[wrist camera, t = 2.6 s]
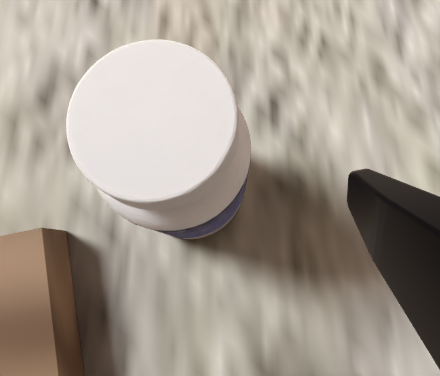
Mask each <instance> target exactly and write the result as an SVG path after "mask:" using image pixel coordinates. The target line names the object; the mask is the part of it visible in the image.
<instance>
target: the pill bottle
mask: <svg viewBox="0 0 440 376" xmlns="http://www.w3.org/2000/svg"><path fill="white" fill-rule="evenodd" d="M66 129H67V139H68V144H69V148H70V151H71V154H72V156H73V159H74V161H75V163H76V164H77V166H78V168H79V169H80V171H81V172H82V173H83V175H84V176H85V177H86V178H87V179H88V180H89V181H90V182H91V183H92V184H93V185H94V186H95V187H96V189H97V191H98V192H99V194H100V195H101V197H102V198H103V200H104V201H105V202H106V203H107V204H108V206H110V207H111V208H112V209H113V210H114V211H115V212H116V213H117V214H119V215H120V216H122V217H123V218H125V219H126V220H128V221H130V222H132V223H134V224H136V225H139V226H142V227H145V228H148V229H152V230H155V231H159V232H162V233H164V234H167V235H170V236H173V237H177V238H181V239H198V238H203V237H206V236H209V235H212V234H214V233H216V232H218V231H219V230H221V229H222V228H224V227H225V226H226V225H227V224H228V223H229V222H230V221H231V220H232V219H233V217H234V216H235V215H236V213H237V211H238V210H239V208H240V206H241V203H242V200H243V197H244V192H245V187H246V181H247V176H248V171H249V167H250V159H251V141H250V135H249V130H248V127H247V124H246V121H245V119H244V117H243V115H242V113H241V111H240V109H239V108H238V106H237V101H236V97H235V94H234V91H233V89H232V86H231V84H230V82H229V80H228V79H227V77H226V75H225V74H224V73H223V71H222V70H221V69H220V68H219V66H218V65H217V64H216V63H214V62H213V61H212V60H211V59H210V58H209V57H208V56H206V55H205V54H203V53H202V52H200V51H199V50H197V49H195V48H193V47H191V46H188V45H186V44H182V43H179V42H175V41H169V40H157V39H156V40H144V41H139V42H134V43H131V44H127V45H124V46H121V47H119V48H117V49H116V50H113V51H111V52H110V53H108V54H107V55H105V56H104V57H102V58H101V59H100V60H98V61H97V62H96V63H95V64H94V65H93V66H92V67H90V68H89V70H88V71H87V72H86V73H85V74H84V76H83V77H82V79H81V80H80V81H79V83H78V85H77V86H76V88H75V90H74V93H73V95H72V98H71V100H70V103H69V107H68V112H67V120H66Z"/></svg>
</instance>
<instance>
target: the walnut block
mask: <svg viewBox="0 0 440 376" xmlns="http://www.w3.org/2000/svg"><path fill="white" fill-rule="evenodd" d="M0 376H84V369H83V361H82V353H81V345H80V337H79V329H78V321H77V313H76V305H75V297H74V290H73V282H72V274H71V266H70V258H69V250H68V242H67V234H66V231H63V230H55V229H47V228H38V229H33V230H29V231H24V232H19V233H14V234H9V235H5V236H0Z"/></svg>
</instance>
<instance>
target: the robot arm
mask: <svg viewBox="0 0 440 376" xmlns="http://www.w3.org/2000/svg"><path fill="white" fill-rule="evenodd" d="M347 203H348V207H349V210H350V212H351V214H352V216H353V218H354V221H355V223H356V225H357V227H358V229H359V231H360V234H361V236H362V238H363V240H364V242H365V244H366V247H367V249H368V251H369V253H370V255H371V257H372V259H373V261H374V263H375V264H376V266H377V268H378V270H379V271H380V273H381V274H382V276H383V278H384V279H385V281H386V283H387V284H388V286H389V288H390V289H391V291H392V292H393V294H394V296H395V297H396V299H397V301H398V302H399V304H400V305H401V307H402V309H403V310H404V312H405V314H406V315H407V317H408V319H409V320H410V322H411V323H412V325H413V327H414V328H415V330H416V332H417V333H418V335H419V336H420V338H421V340H422V341H423V343H424V345H425V346H426V348H427V350H428V351H429V353H430V354H431V356H432V358H433V359H434V361H435V363H436V364H437V366H438V367H439V369H440V197H439V196H436V195H434V194H431V193H429V192H426V191H424V190H421V189H419V188H416V187H413V186H411V185H408V184H406V183H403V182H401V181H398V180H396V179H393V178H390V177H388V176H385V175H383V174H380V173H378V172H375V171H373V170H370V169H361V170H356V171H352V172H351V173H350V174H349V177H348V191H347Z"/></svg>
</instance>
